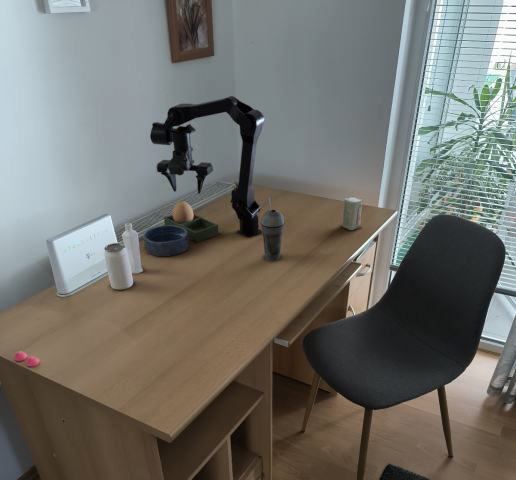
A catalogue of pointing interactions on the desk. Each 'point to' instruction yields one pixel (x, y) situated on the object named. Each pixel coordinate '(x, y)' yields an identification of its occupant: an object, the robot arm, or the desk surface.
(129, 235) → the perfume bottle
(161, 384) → the desk surface
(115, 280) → the can
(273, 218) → the beverage cup
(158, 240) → the bowl
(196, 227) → the carton
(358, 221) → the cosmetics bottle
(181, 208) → the egg
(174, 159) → the robot arm
